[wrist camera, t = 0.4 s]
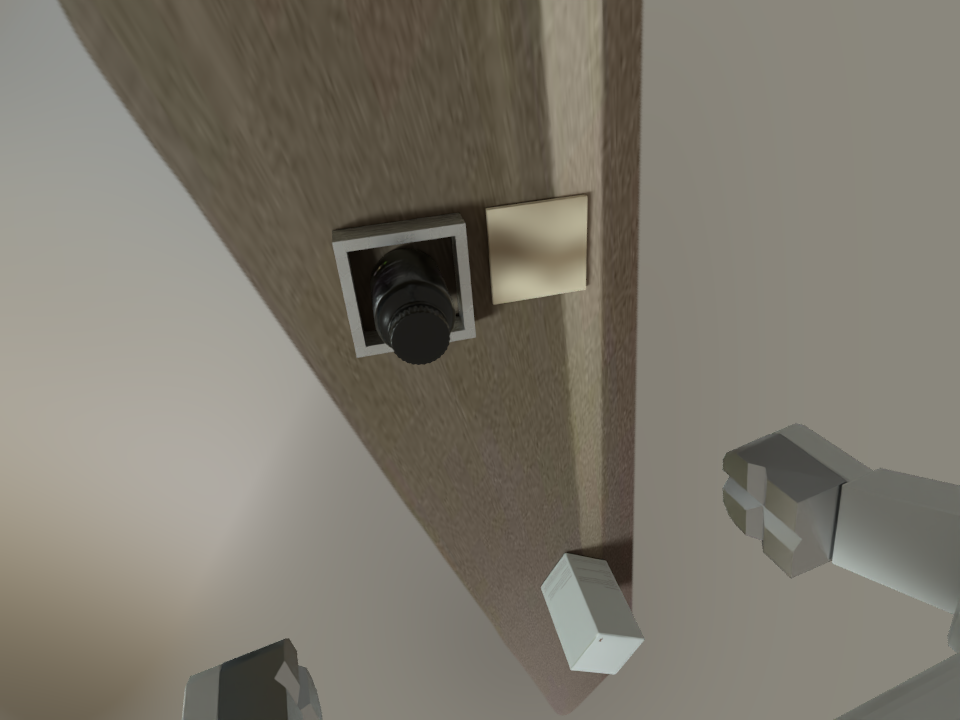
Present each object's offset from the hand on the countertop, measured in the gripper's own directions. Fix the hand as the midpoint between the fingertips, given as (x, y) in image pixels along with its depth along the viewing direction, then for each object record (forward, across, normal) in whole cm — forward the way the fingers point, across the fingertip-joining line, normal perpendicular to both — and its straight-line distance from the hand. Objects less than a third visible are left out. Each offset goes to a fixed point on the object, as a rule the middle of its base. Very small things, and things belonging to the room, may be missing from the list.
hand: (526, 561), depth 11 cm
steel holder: (+47, -5, +13) cm, 49 cm away
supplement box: (+48, -17, +62) cm, 81 cm away
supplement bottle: (+48, -5, +13) cm, 49 cm away
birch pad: (+46, -18, +13) cm, 51 cm away
